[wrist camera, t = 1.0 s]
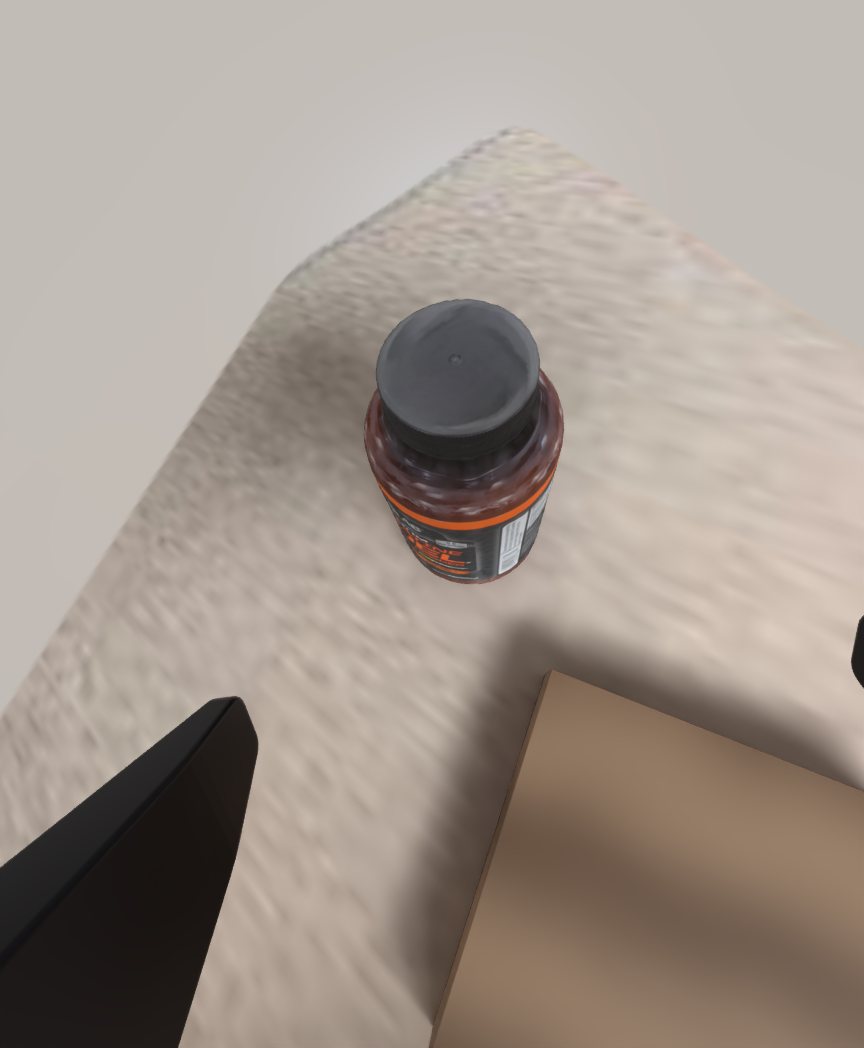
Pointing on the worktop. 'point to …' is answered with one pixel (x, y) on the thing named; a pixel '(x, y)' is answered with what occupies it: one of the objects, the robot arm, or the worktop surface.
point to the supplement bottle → (464, 437)
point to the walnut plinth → (660, 893)
